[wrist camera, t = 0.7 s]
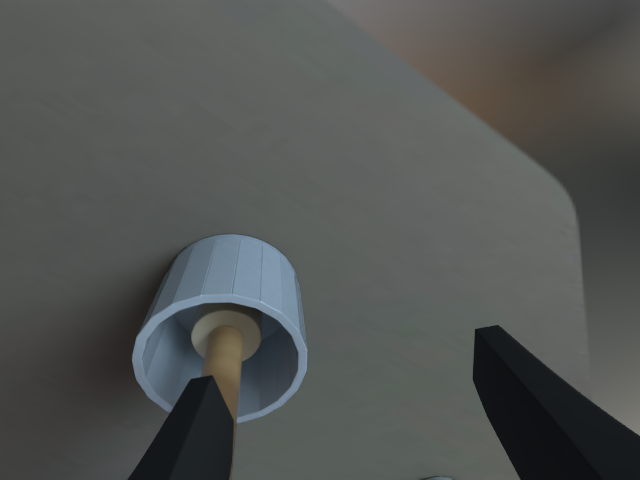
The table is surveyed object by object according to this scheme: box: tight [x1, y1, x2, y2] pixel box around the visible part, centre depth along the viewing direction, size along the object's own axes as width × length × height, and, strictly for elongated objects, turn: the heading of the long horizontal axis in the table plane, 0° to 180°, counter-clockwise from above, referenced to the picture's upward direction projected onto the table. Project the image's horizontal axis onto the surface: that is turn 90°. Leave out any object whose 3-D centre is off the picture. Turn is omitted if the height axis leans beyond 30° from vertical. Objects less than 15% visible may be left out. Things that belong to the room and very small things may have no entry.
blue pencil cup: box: [132, 234, 307, 423], centre depth 19 cm, size 7×7×6 cm
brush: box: [191, 302, 262, 480], centre depth 16 cm, size 3×3×10 cm
